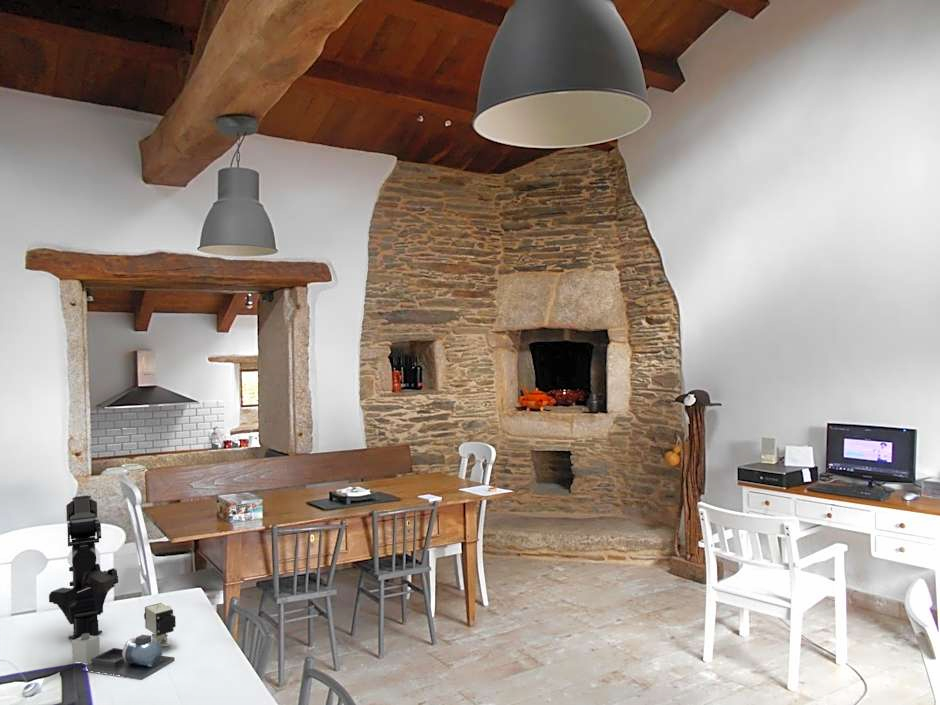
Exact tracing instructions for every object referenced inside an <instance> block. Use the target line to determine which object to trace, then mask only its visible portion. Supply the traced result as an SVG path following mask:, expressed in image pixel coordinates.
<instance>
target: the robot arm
mask: <svg viewBox="0 0 940 705" xmlns="http://www.w3.org/2000/svg"><path fill="white" fill-rule="evenodd" d="M91 497H92V496H91V495H80V496H74V497H72V499H71V500H72V501H70V502H69V503H67V504H66V505H65V506H66V507H65V510H66V522H67V523H66V524H67V547H68V548H69V547H71V562H72V566H69V567H68V569H69V570H68V571H69V572H72V581H70V582H69V586H70V587H72V588H70V587H61V588H58V589H54V590H52V591H50V593H49V594H48V602H49V603H52V604H54V605H57V606H58V608H59V609H60V610H61V612H62V613H63V615H64V617H65V618H66V620H67V621H68V623H69V624H70V625H73V628H72V629H73V634H72V635H70V636H69V639H73V640H75V639H77V638H79V637H81V635H82V634H84V633H89V634H90V635H91V636H98V635H100V634H102V633H103V631H102V630H99V619H98V616H101V614H103V613H104V603H105V601H106V597H107V594H108V593H109V591H111V589H113V588H115V586H116V584H118V583H119V576H118V569H117V568H114V567H113V568H109V569H108V570H101V566H100V563H97V554H96V544H97V543H98V544H99V543H100V539H102V528H101V526H102V525H101V522H100V521H99V519H98V502H97V501H96V500H95V499H92V498H91Z"/></svg>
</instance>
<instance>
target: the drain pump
mask: <svg viewBox="0 0 940 705" xmlns="http://www.w3.org/2000/svg"><path fill="white" fill-rule="evenodd" d="M100 649H101V648H100V636H98V635H96V636H91V635H90V634H89V633H84V634H82V635H81V637H79V638H77V639H73V640H71V654H72V655H71V656H72V658H71V659H72V660H71V661H72V664H73V663H74V662H81V663H85V664H84V665H88V664H87V663H89V662H91V659H92V658H94V657H96V656H98V655H100V654H101V653H100V652H101V650H100ZM74 664H75V663H74ZM89 664H90V663H89Z"/></svg>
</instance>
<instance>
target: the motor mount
mask: <svg viewBox="0 0 940 705" xmlns="http://www.w3.org/2000/svg"><path fill="white" fill-rule="evenodd" d="M175 658H176V657H174V656H169V655H168V656H167V655H163V647H162V646H161V644H160V643H156V642H152V635H146V634H141V635H139V636H136V637H134V638H133V637H132V638H130V639H128V640H127V641H126V643H125V644H124V646H123V648H118V647H112V648H110V649H109V650H106V651H104V652H102V653H100V655H98V656H96V657H94V658H92V659H91V663H89V664H85V666H86V667H87V669H88V671H93V672H100V673H107V674H112V675H111V676H113V674H114V675H120V676H124V677H123V678H126V677H129V679H133V678H135V679H136V680H141V681H142V680H144V679H146V678H147V677H150V676H151V675H153V674H154V673H156V672H158V671H160V670H161V669H163V668H165V667H167V666H169V665H170V664H171V663H174V662H175ZM173 661H174V662H173ZM135 679H134V680H135Z"/></svg>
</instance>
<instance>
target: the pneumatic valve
mask: <svg viewBox="0 0 940 705" xmlns="http://www.w3.org/2000/svg"><path fill="white" fill-rule="evenodd" d="M143 618H144V623H145V624H144V625H145V629H146V630H148V631H149V632H151V633H152V634H151V642H156V643H160V644H161V646H162V648H163V647H167V646H168V645H169V643H168V636H169V635H168V634H169V633H172V632H174V629H175V628H176V626H177V625H176V624H177V623H176V615H174V610H173V609H172V606H171V605H165V604H163V603H162V602H158V603H156V604H150V605H148V606H145V607H144V615H143Z"/></svg>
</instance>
